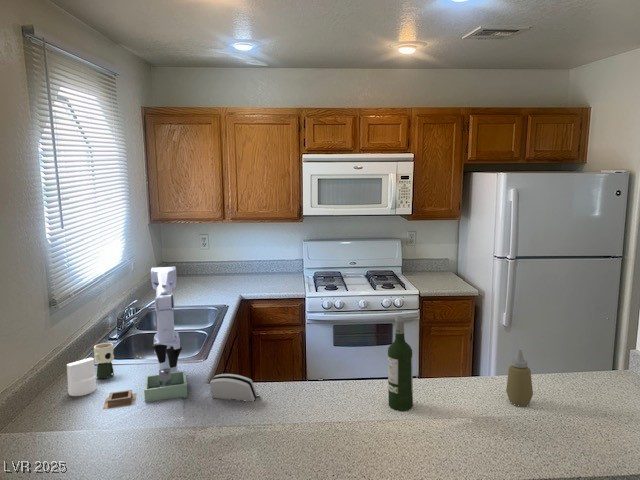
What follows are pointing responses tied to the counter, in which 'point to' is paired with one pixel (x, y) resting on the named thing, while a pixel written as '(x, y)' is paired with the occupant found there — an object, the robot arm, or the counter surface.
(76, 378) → the white grooved block
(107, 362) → the character mug
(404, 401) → the wine bottle
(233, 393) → the grey toaster
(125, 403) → the socket block
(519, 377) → the squeeze bottle
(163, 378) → the strut
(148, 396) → the bin
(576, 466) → the counter surface
